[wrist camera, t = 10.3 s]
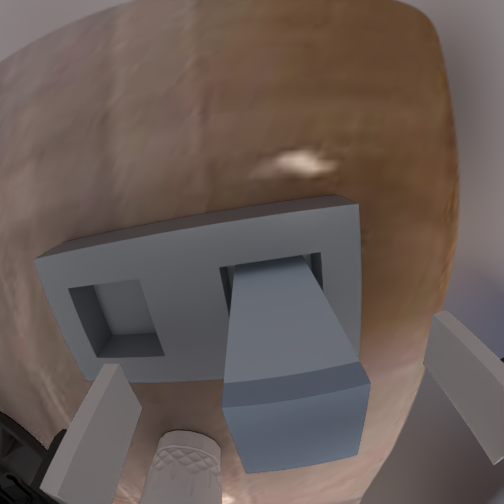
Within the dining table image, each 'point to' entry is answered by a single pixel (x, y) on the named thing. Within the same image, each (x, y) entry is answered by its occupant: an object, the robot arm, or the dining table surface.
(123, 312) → the panel
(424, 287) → the dining table surface
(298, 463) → the plug
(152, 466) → the white cup
